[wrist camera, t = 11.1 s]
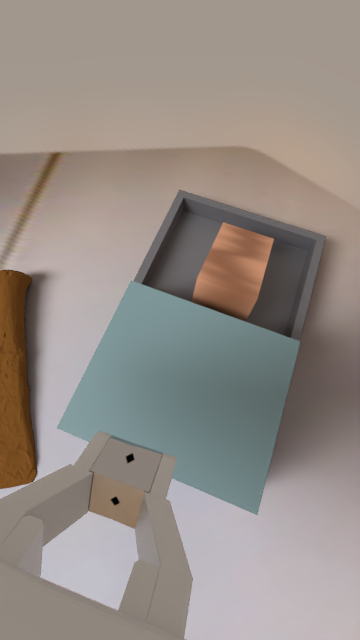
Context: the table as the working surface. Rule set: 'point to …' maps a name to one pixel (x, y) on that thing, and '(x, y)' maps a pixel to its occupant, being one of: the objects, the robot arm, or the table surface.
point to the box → (194, 246)
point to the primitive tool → (14, 385)
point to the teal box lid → (188, 391)
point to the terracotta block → (233, 272)
